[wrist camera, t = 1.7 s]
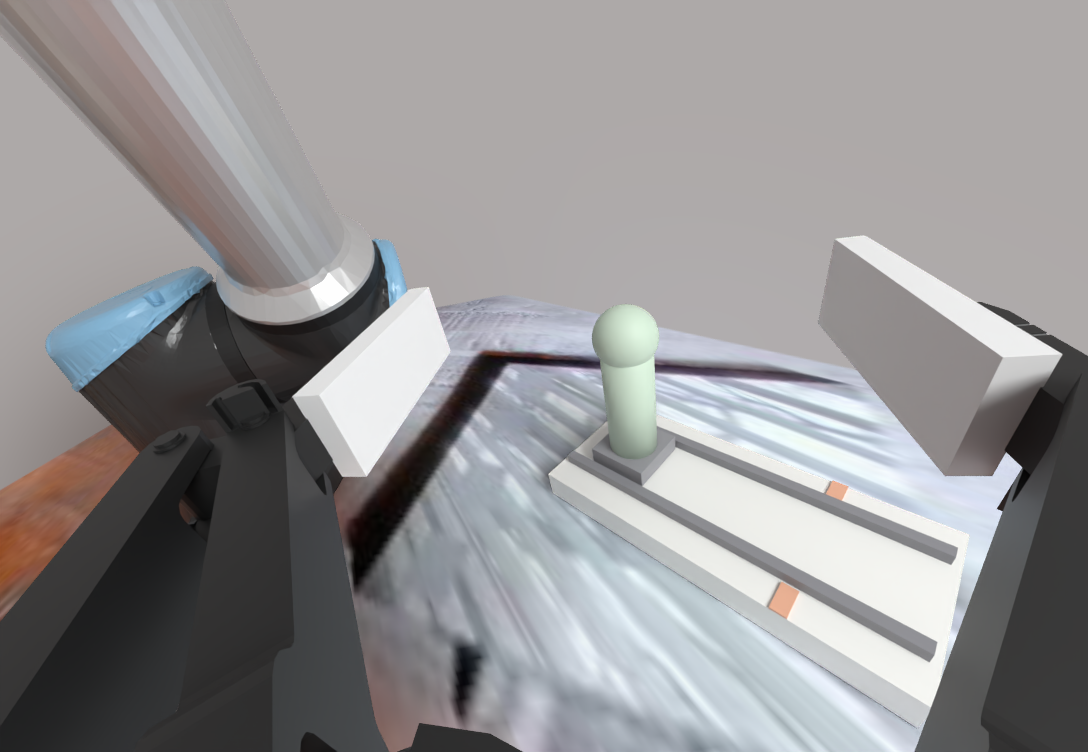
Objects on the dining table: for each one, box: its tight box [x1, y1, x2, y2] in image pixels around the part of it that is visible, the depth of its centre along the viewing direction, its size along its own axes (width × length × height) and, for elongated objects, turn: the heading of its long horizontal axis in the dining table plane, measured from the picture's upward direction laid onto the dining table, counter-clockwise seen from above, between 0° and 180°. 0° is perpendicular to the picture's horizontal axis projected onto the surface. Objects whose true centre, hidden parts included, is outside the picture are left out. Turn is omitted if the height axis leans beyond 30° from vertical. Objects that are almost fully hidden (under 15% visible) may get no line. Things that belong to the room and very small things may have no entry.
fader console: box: [548, 414, 970, 728], centre depth 32 cm, size 26×12×3 cm, turn 46°
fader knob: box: [592, 304, 675, 486], centre depth 33 cm, size 5×5×14 cm
